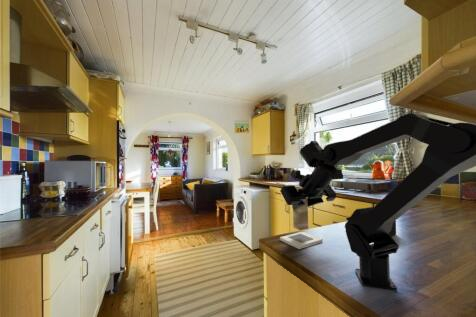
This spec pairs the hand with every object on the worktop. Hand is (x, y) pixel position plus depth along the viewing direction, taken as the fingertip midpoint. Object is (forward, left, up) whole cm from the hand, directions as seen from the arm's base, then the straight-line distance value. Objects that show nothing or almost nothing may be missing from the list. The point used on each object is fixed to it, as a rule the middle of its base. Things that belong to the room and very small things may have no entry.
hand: (297, 208), depth 72 cm
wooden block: (-1, -1, -7) cm, 7 cm away
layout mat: (-1, -1, -11) cm, 11 cm away
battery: (+13, -31, -11) cm, 35 cm away
